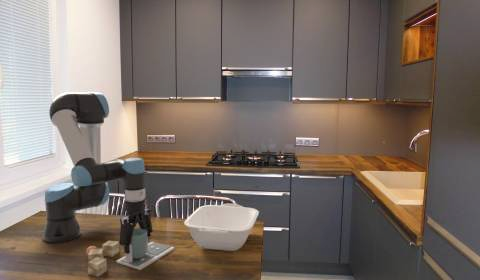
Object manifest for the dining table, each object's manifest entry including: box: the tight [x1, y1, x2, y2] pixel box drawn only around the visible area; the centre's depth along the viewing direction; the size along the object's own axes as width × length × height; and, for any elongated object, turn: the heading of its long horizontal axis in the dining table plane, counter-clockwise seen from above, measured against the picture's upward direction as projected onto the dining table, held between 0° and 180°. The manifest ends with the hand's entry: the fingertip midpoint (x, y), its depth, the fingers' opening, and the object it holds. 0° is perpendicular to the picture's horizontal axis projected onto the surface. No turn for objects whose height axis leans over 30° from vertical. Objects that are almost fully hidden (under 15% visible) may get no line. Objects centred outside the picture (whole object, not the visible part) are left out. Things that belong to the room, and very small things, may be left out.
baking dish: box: [183, 203, 260, 252], centre depth 154 cm, size 34×28×13 cm
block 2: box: [87, 257, 108, 277], centre depth 129 cm, size 4×4×4 cm
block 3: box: [101, 240, 120, 258], centre depth 144 cm, size 4×4×4 cm
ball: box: [86, 245, 98, 256], centre depth 142 cm, size 4×4×4 cm
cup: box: [130, 227, 147, 259], centre depth 138 cm, size 8×8×10 cm
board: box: [116, 241, 175, 271], centre depth 143 cm, size 12×20×1 cm, turn 152°
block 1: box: [87, 248, 104, 262], centre depth 137 cm, size 4×4×4 cm
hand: (137, 256), depth 138 cm, fingers closed on cup, 8 cm apart
